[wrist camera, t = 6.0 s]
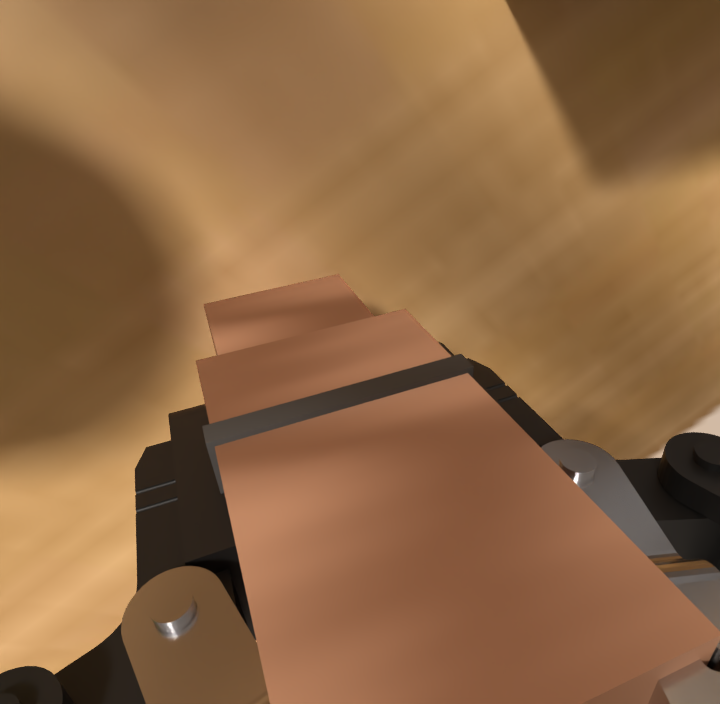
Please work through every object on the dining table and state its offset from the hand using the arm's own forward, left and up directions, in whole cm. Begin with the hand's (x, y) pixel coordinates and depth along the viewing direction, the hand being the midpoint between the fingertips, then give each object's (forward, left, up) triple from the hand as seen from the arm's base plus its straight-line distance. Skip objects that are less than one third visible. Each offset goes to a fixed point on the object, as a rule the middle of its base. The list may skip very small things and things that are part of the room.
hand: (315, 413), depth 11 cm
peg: (0, 0, -3) cm, 3 cm away
